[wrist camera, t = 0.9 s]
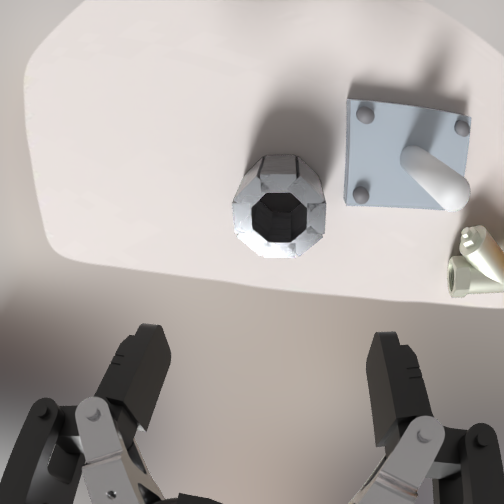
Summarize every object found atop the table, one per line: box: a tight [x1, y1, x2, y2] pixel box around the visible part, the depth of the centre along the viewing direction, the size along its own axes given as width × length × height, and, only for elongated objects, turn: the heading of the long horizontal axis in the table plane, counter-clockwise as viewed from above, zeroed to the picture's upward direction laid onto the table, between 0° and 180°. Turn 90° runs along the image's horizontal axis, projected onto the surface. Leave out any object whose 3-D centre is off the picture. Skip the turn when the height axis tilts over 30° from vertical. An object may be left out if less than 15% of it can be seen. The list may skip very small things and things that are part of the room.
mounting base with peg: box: [344, 99, 471, 212], centre depth 18 cm, size 10×8×8 cm
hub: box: [232, 155, 326, 258], centre depth 22 cm, size 6×6×5 cm
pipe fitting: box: [447, 225, 504, 298], centre depth 22 cm, size 8×4×7 cm
